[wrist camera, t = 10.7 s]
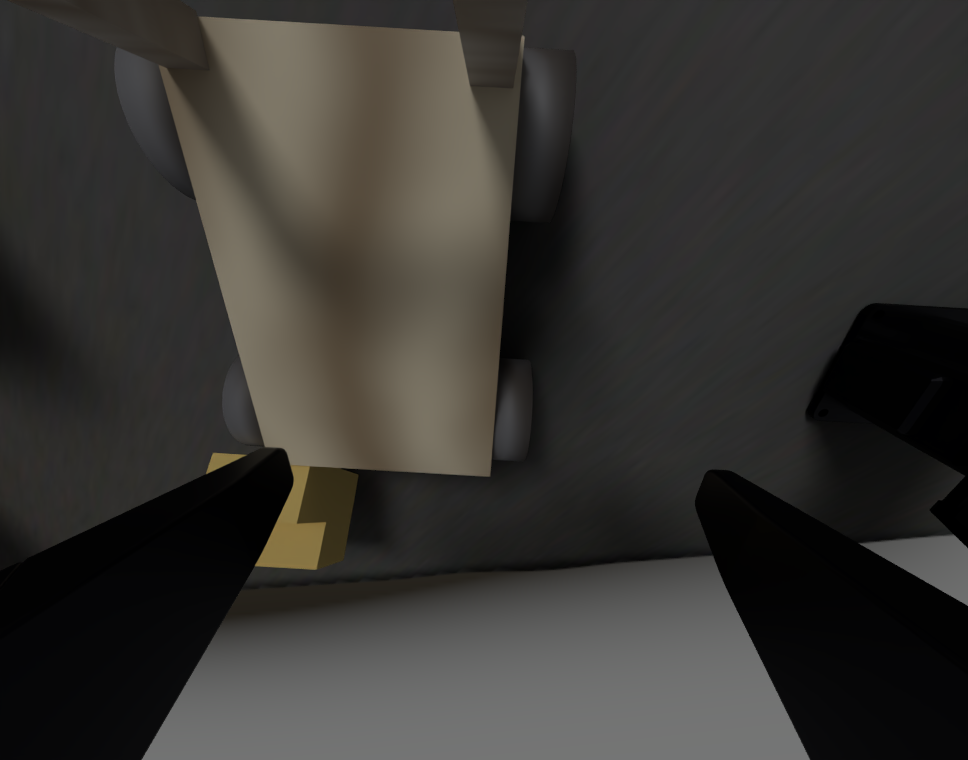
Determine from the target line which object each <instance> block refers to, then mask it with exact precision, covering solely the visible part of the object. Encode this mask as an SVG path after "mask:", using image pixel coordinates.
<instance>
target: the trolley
mask: <svg viewBox="0 0 968 760" xmlns="http://www.w3.org/2000/svg"><path fill="white" fill-rule="evenodd" d="M8 1H10V2H13V3H15V4H17V5H20V6H22V7H24V8H27V9H29V10H31V11H34V12H36V13H38V14H41V15H43V16H45V17H48V18H50V19H53V20H55V21H57V22H60V23H62V24H64V25H67V26H69V27H71V28H74V29H76V30H78V31H81V32H83V33H85V34H88V35H90V36H92V37H95V38H97V39H100V40H102V41H104V42H107V43H109V44H111V45H114V46H116V47H117V48H116V53H115V63H114V69H115V81H116V86H117V92H118V95H119V99H120V103H121V106H122V109H123V112H124V114H125V117H126V120H127V122H128V124H129V126H130V128H131V130H132V133H133V135H134V136H135V138H136V140H137V142H138V144H139V145H140V147H141V149H142V150H143V152H144V153H145V155H146V156H147V158H148V159H149V160H150V162H151V163H152V164H153V166H154V167H155V168H156V169H157V171H158V172H159V173H160V174H161V175H162V176H163V177H164V178H165V179H166V180H167V181H168V182H169V183H170V184H171V185H172V186H174V187H175V188H176V189H177V190H179V191H180V192H181V193H183V194H185V195H186V196H188V197H190V198H192V199H194V200H196V201H197V205H198V208H199V212H200V216H201V219H202V223H203V226H204V230H205V233H206V237H207V241H208V244H209V248H210V251H211V255H212V259H213V262H214V266H215V269H216V273H217V276H218V280H219V284H220V287H221V291H222V294H223V298H224V302H225V305H226V309H227V312H228V316H229V319H230V323H231V327H232V330H233V334H234V337H235V341H236V345H237V348H238V352H239V355H238V356H237V357H236V359H235V360H234V362H233V363H232V365H231V367H230V369H229V371H228V373H227V376H226V379H225V383H224V388H223V396H222V407H223V415H224V419H225V423H226V425H227V428H228V430H229V431H230V433H231V434H232V436H233V437H234V438H235V439H236V440H237V441H239V442H240V443H242V444H245V445H250V446H265V447H277V448H283V449H285V451H286V452H287V454H288V458H289V462H290V465H298V466H315V467H332V468H350V469H367V470H384V471H401V472H418V473H435V474H452V475H469V476H487V477H490V471H491V460H506V461H525V459H526V457H527V453H528V448H529V442H530V434H531V424H532V407H533V380H532V368H531V363H530V361H529V360H525V359H508V358H499V356H500V343H501V330H502V318H503V305H504V292H505V279H506V266H507V254H508V241H509V228H510V221H524V222H541V223H549V222H550V221H551V220H552V218H553V216H554V213H555V210H556V207H557V204H558V201H559V197H560V193H561V188H562V184H563V179H564V174H565V169H566V164H567V158H568V152H569V146H570V139H571V132H572V124H573V115H574V106H575V94H576V56H575V52H574V51H573V50H559V49H542V48H525V47H524V36H522V31H523V24H524V18H525V12H526V6H527V0H453V3H454V9H455V14H456V19H457V24H458V29H459V32H450V31H433V30H416V29H400V28H383V27H366V26H349V25H332V24H315V23H298V22H281V21H264V20H247V19H230V18H213V17H197V13H196V11H195V10H193V9H192V8H190V7H189V6H187V5H186V4H184V3H183V2H181V1H180V0H8Z"/></svg>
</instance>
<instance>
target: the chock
mask: <svg viewBox="0 0 968 760" xmlns="http://www.w3.org/2000/svg"><path fill="white" fill-rule="evenodd" d="M244 456H246V455H237V454H221V453H213V455H212V458H211V461H210V464H209V467H208V470H207V473H206V474H208V473H210V472H212V471H214V470H216V469H218V468H220V467H222V466H225V465H227V464H229V463H231V462H233V461H235V460H237V459H239V458H241V457H244ZM291 469H292V472H293V476H294V483H293V487H292V490H291V492H290V494H289V496H288V499H287V501H286V503H285V505H284V507H283V509H282V512H281V514H280V516H279V518H278V520H277V522H276V525H275V527H274V529H273V531H272V533H271V535H270V538H269V540H268V542H267V544H266V546H265V548H264V550H263V552H262V554H261V556H260V558H259V559H258V561H257V563H256V565H255V566H264V567H281V568H298V569H315V570H317V569H320V568H323V567H325V566H328V565H331V564H334V563H337V562H340V561H343V560H344V554H345V548H346V543H347V537H348V532H349V526H350V520H351V515H352V509H353V504H354V498H355V493H356V487H357V481H358V476H359V475H358V474H355V473H352V472H349V471H346V470H343V469H340V468H332V467H315V466H298V465H291Z"/></svg>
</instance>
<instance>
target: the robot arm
mask: <svg viewBox="0 0 968 760" xmlns="http://www.w3.org/2000/svg"><path fill="white" fill-rule="evenodd" d="M875 313H876V314H875ZM874 314H875V315H874ZM873 315H874V316H873ZM808 415H810V416H811V417H812V418H814V419H815V420H819V421H834V422H851V423H868V424H875V425H877V426H879V427H880V428H882V429H884V430H886V431H887V432H889V433H891V434H893V435H894V436H896V437H898V438H900V439H901V440H903V441H905V442H907V443H908V444H910V445H912V446H914V447H915V448H917V449H919V450H921V451H922V452H924V453H926V454H928V455H929V456H931V457H933V458H935V459H937V460H938V461H940V462H942V463H944V464H945V465H947V466H949V467H951V468H952V469H954V470H956V471H958V472H959V473H961V474H963V475H965V477H964V478H963V479H962V480H961V481H960V482H959V483H958V485H957V486H956V487H955V488H954V489H953V490H952V491H951V492H950V493H949V494H948V495H947V496H946V497H945V498H944V499H943V500H938V501H937V502H936V503H935V504H934V505H933V507H932V508H931V509H930V511H931V512H932V513H933V514H934V515H935V516H936V517H937V518H938V519H939V520H940V521H941V522H942V523H943V524H944V525H945V526H946V527H947V528H948V529H949V530H950V531H951V532H952V533H953V534H954V535H955V536H956V537H957V538H958V539H959V540H960V541H961V542H962V543H963V544H964V545H966V547H967V548H968V309H967V308H950V307H933V306H916V305H899V304H882V303H874V304H870V305H868V306H866V307H865V308H864V309H863V310H862V311H861V313H860V315H859V316H858V318H857V320H856V322H855V324H854V326H853V328H852V329H851V331H850V333H849V335H848V337H847V339H846V340H845V342H844V344H843V346H842V348H841V350H840V352H839V353H838V355H837V357H836V359H835V361H834V363H833V364H832V366H831V368H830V370H829V372H828V374H827V375H826V377H825V379H824V381H823V383H822V385H821V387H820V388H819V390H818V392H817V394H816V396H815V398H814V399H813V401H812V403H811V405H810V407H809V409H808ZM293 483H294V476H293V472H292V469H291V465H290V462H289V458H288V454H287V452H286V451H285V449H283V448H277V447H263V448H261V449H258V450H256V451H254V452H252V453H250V454H248V455H246V456H244V457H241V458H239V459H237V460H235V461H233V462H231V463H229V464H227V465H225V466H222V467H220V468H218V469H216V470H214V471H212V472H210V473H208V474H205V475H203V476H201V477H199V478H197V479H195V480H193V481H191V482H188V483H186V484H184V485H182V486H180V487H178V488H176V489H174V490H171V491H169V492H167V493H165V494H163V495H161V496H159V497H157V498H155V499H152V500H150V501H148V502H146V503H144V504H142V505H140V506H138V507H135V508H133V509H131V510H129V511H127V512H125V513H123V514H121V515H118V516H116V517H114V518H112V519H110V520H108V521H106V522H104V523H101V524H99V525H97V526H95V527H93V528H91V529H89V530H87V531H84V532H82V533H80V534H78V535H76V536H74V537H72V538H70V539H68V540H65V541H63V542H61V543H59V544H57V545H55V546H53V547H51V548H48V549H46V550H44V551H42V552H40V553H38V554H36V555H34V556H31V557H29V558H27V559H26V560H25V561H24V562H23V563H22V562H19V563H16V564H14V565H12V566H10V567H8V568H6V569H4V570H1V571H0V760H142V758H143V756H144V755H145V753H146V751H147V750H148V748H149V746H150V744H151V743H152V741H153V739H154V738H155V736H156V734H157V732H158V731H159V729H160V727H161V726H162V724H163V722H164V720H165V719H166V717H167V715H168V714H169V712H170V710H171V708H172V707H173V705H174V703H175V702H176V700H177V698H178V697H179V695H180V693H181V691H182V690H183V688H184V686H185V685H186V683H187V681H188V679H189V678H190V676H191V674H192V673H193V671H194V669H195V667H196V666H197V664H198V662H199V661H200V659H201V657H202V655H203V654H204V652H205V650H206V649H207V647H208V645H209V644H210V642H211V640H212V638H213V637H214V635H215V633H216V632H217V629H218V628H219V627H220V625H221V623H222V621H223V620H224V618H225V616H226V614H227V613H228V611H229V609H230V608H231V606H232V604H233V603H234V601H235V599H236V597H237V596H238V594H239V592H240V591H241V589H242V587H243V585H244V584H245V582H246V580H247V579H248V577H249V575H250V574H251V572H252V570H253V568H254V567H255V565H256V563H257V561H258V559H259V558H260V556H261V554H262V552H263V550H264V548H265V546H266V544H267V542H268V540H269V538H270V535H271V533H272V531H273V529H274V527H275V525H276V522H277V520H278V518H279V516H280V514H281V512H282V509H283V507H284V505H285V503H286V501H287V499H288V496H289V494H290V492H291V490H292V487H293ZM695 507H696V511H697V514H698V517H699V519H700V522H701V525H702V527H703V530H704V533H705V535H706V538H707V541H708V543H709V546H710V548H711V551H712V554H713V556H714V559H715V562H716V564H717V567H718V570H719V572H720V575H721V577H722V579H723V582H724V584H725V586H726V588H727V590H728V593H729V595H730V597H731V599H732V601H733V603H734V605H735V607H736V609H737V611H738V613H739V615H740V617H741V620H742V622H743V624H744V626H745V628H746V630H747V632H748V634H749V636H750V638H751V640H752V642H753V644H754V646H755V648H756V650H757V652H758V654H759V656H760V658H761V660H762V662H763V664H764V666H765V668H766V670H767V672H768V675H769V677H770V679H771V681H772V683H773V685H774V687H775V689H776V691H777V693H778V695H779V697H780V699H781V701H782V703H783V705H784V707H785V709H786V711H787V713H788V715H789V717H790V719H791V721H792V723H793V725H794V728H795V730H796V732H797V734H798V736H799V738H800V740H801V742H802V744H803V746H804V748H805V750H806V752H807V754H808V756H809V758H810V760H968V606H967V605H965V604H964V603H962V602H960V601H958V600H956V599H955V598H953V597H951V596H949V595H948V594H946V593H944V592H942V591H941V590H939V589H937V588H935V587H934V586H932V585H930V584H929V583H926V582H925V581H923V580H921V579H920V578H918V577H916V576H915V575H913V574H911V573H909V572H907V571H906V570H904V569H902V568H900V567H898V566H897V565H895V564H893V563H892V562H890V561H888V560H886V559H885V558H883V557H881V556H879V555H878V554H876V553H874V552H872V551H871V550H869V549H867V548H865V547H864V546H862V545H860V544H858V543H857V542H855V541H853V540H851V539H850V538H848V537H846V536H844V535H843V534H841V533H839V532H837V531H836V530H834V529H832V528H830V527H829V526H827V525H825V524H823V523H822V522H820V521H818V520H816V519H815V518H813V517H811V516H809V515H808V514H806V513H804V512H802V511H801V510H799V509H797V508H795V507H794V506H792V505H790V504H788V503H787V502H785V501H783V500H781V499H780V498H778V497H776V496H774V495H773V494H771V493H769V492H767V491H766V490H764V489H762V488H760V487H759V486H757V485H755V484H753V483H752V482H750V481H748V480H746V479H745V478H743V477H741V476H739V475H738V474H736V473H734V472H732V471H729V470H709V471H707V472H706V474H705V475H704V478H703V481H702V483H701V486H700V488H699V491H698V493H697V496H696V499H695Z"/></svg>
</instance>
